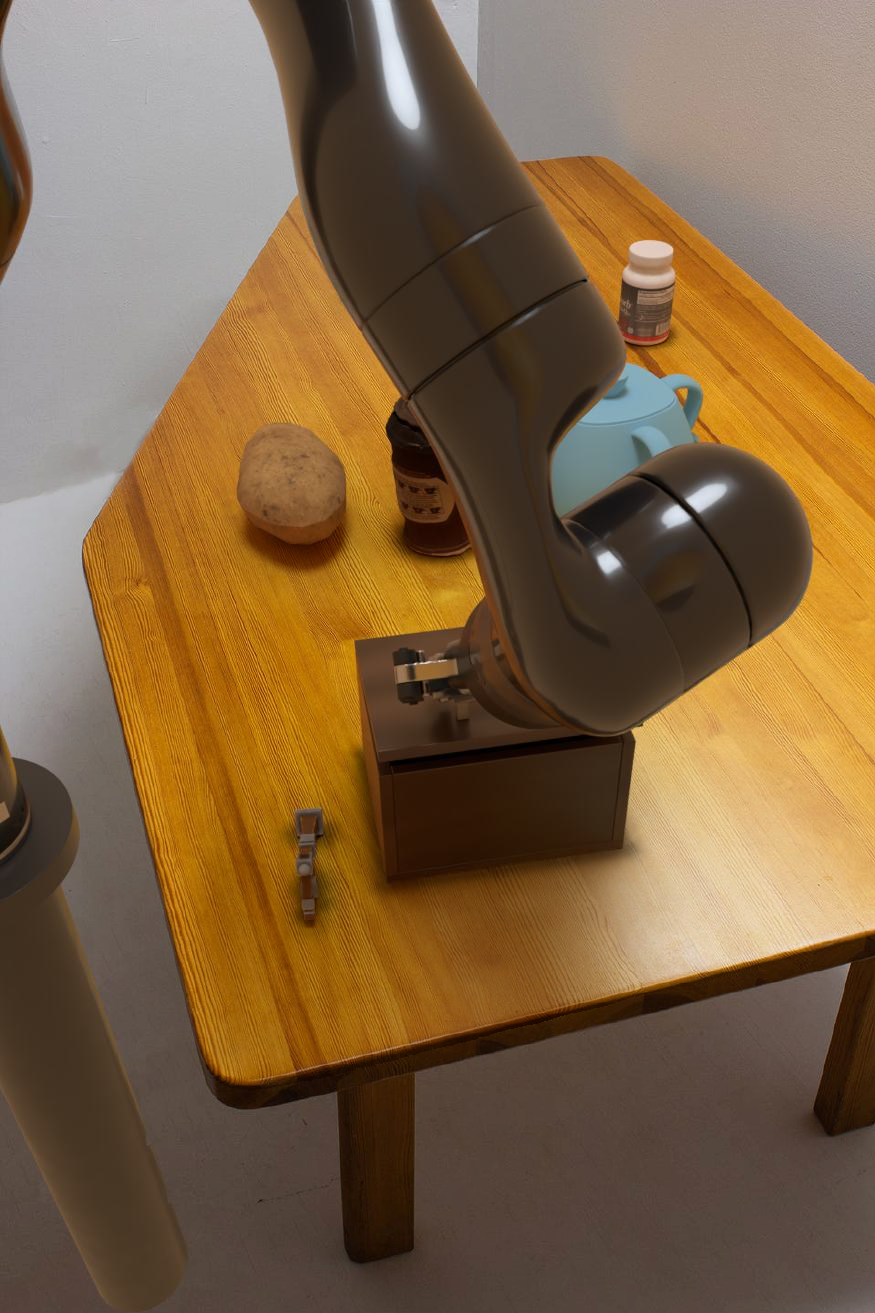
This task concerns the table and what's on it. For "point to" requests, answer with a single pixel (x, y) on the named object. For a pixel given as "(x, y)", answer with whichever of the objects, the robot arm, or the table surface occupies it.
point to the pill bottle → (647, 293)
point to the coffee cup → (422, 489)
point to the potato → (291, 484)
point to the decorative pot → (623, 434)
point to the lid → (429, 707)
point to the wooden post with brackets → (308, 856)
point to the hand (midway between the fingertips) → (496, 676)
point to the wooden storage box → (497, 802)
